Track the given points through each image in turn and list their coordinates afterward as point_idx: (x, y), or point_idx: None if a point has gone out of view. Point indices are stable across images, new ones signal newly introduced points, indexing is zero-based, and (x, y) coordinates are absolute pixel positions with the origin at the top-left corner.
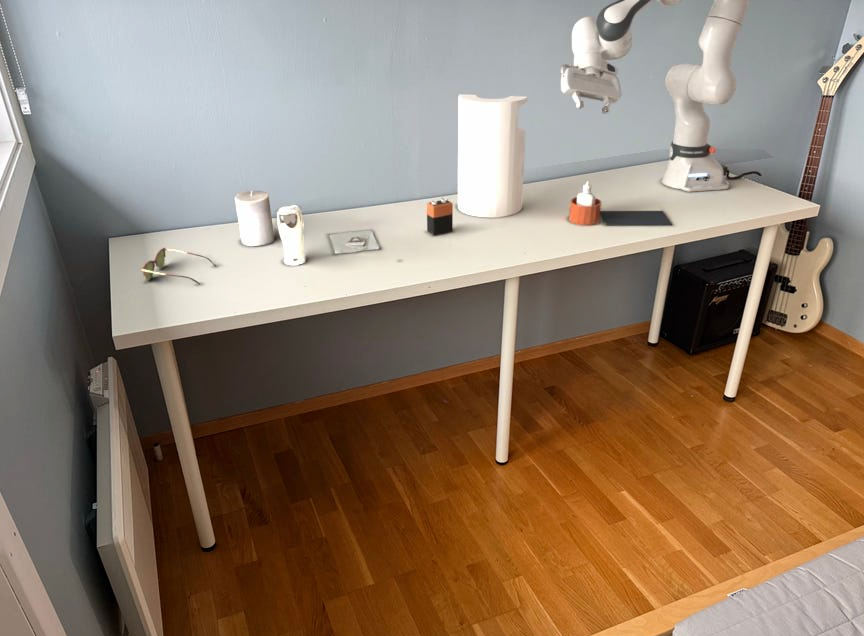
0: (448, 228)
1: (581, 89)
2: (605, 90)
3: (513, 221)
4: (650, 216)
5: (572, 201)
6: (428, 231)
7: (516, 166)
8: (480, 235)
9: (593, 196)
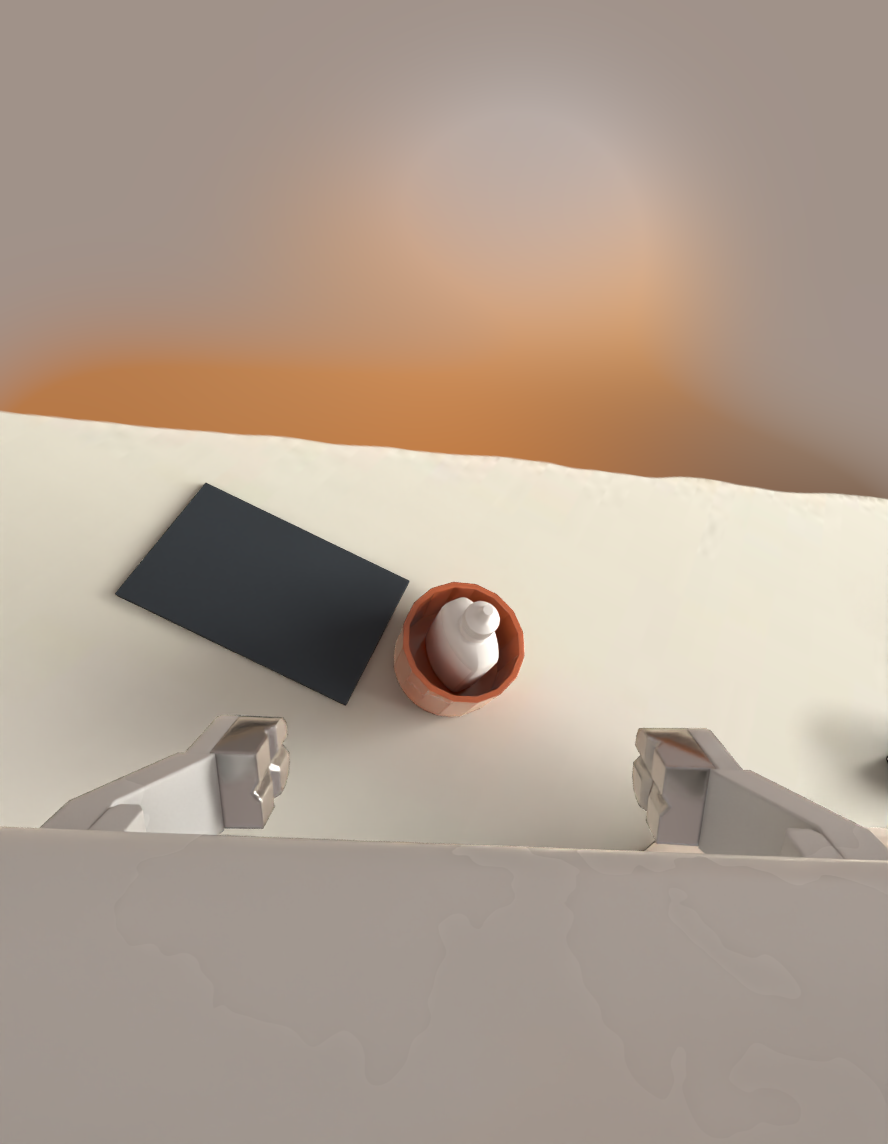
0: None
1: (838, 862)
2: (91, 919)
3: None
4: (211, 568)
5: (501, 683)
6: None
7: None
8: (804, 691)
9: (457, 600)
